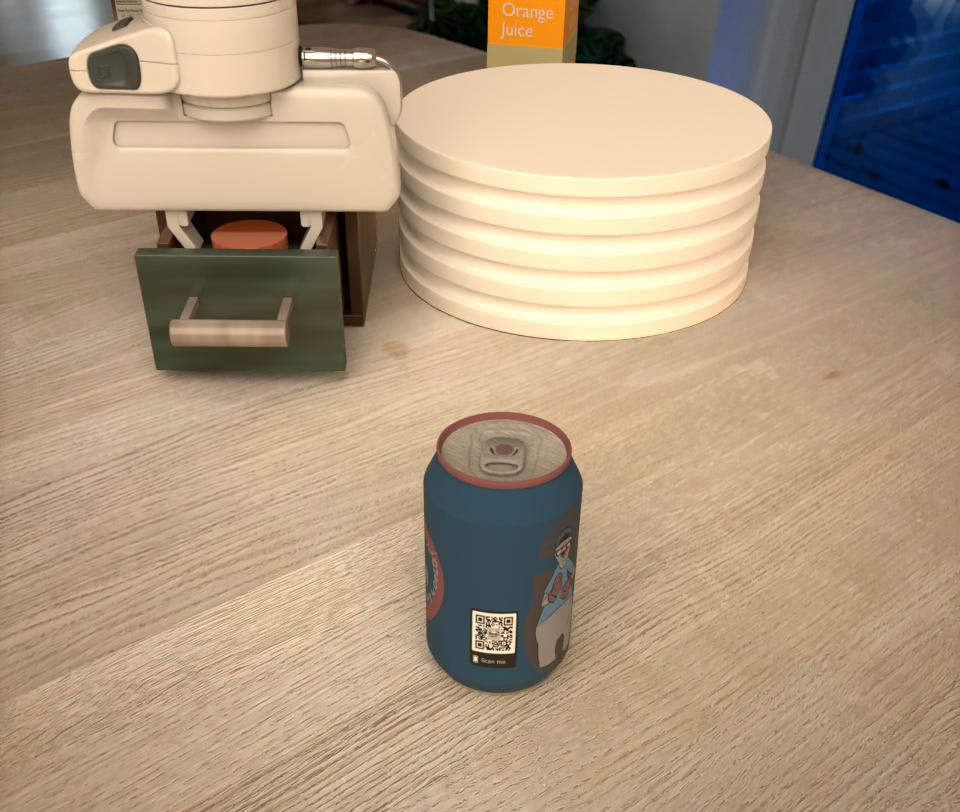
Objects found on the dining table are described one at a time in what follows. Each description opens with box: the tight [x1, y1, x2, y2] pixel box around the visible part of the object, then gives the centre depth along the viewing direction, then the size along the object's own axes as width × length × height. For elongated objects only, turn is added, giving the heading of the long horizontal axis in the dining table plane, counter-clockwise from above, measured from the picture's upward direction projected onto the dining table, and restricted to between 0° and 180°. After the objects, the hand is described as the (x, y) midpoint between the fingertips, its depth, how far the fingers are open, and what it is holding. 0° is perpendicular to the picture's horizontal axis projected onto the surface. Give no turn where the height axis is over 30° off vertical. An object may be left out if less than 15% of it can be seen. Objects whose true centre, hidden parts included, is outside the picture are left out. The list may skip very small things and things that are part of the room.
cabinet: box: [154, 211, 378, 327], centre depth 85 cm, size 16×14×10 cm
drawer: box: [133, 211, 349, 373], centre depth 76 cm, size 20×13×8 cm, turn 0°
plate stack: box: [394, 62, 773, 342], centre depth 88 cm, size 28×28×12 cm
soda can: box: [422, 411, 584, 696], centre depth 51 cm, size 7×7×12 cm
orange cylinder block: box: [211, 220, 289, 249], centre depth 75 cm, size 5×5×4 cm
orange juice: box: [486, 0, 580, 68], centre depth 112 cm, size 8×9×20 cm
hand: (254, 272), depth 76 cm, fingers closed on orange cylinder block, 5 cm apart
